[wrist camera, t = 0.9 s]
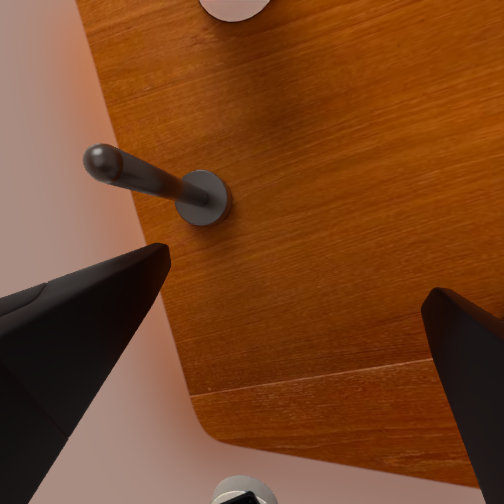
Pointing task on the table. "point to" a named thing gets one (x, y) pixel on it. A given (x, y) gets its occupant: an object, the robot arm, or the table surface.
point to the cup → (233, 8)
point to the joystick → (162, 184)
